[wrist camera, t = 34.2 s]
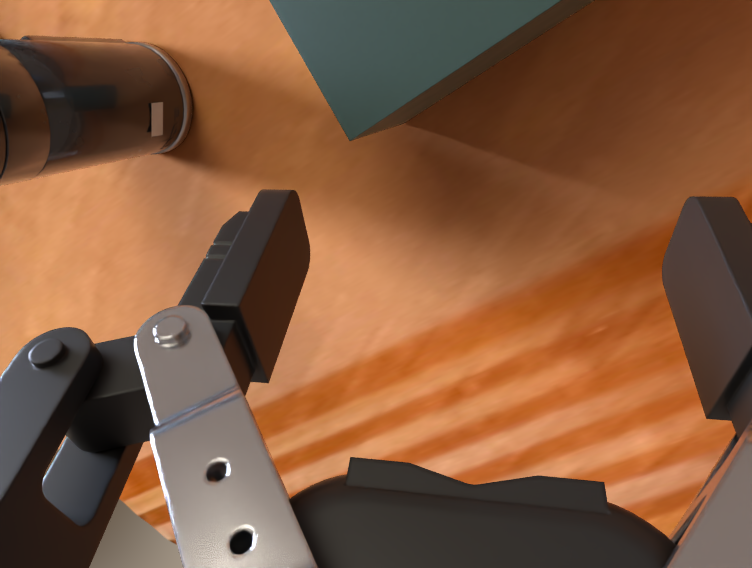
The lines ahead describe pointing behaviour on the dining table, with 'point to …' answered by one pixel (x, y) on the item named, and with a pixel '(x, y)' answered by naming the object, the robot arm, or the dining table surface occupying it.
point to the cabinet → (407, 49)
